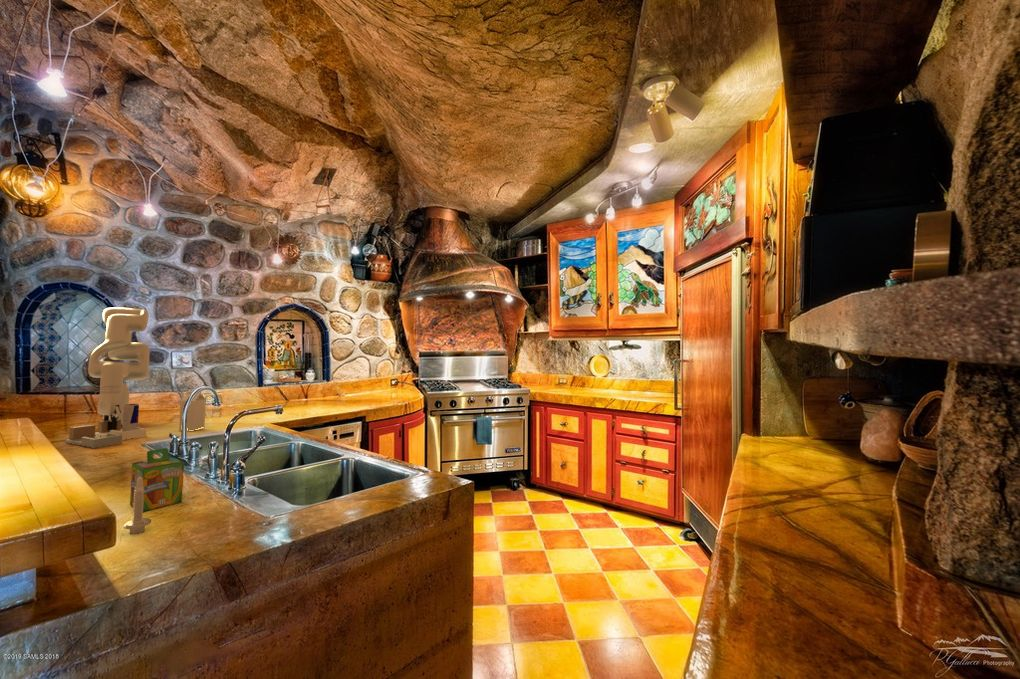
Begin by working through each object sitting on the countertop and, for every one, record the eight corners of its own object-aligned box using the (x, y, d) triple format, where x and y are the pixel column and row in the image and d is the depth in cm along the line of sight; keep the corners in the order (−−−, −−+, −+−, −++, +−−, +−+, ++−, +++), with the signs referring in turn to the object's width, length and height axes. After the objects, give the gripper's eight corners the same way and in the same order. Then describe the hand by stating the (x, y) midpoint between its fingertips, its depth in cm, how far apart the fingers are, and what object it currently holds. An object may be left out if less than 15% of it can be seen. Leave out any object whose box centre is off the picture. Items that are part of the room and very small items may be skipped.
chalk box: (140, 513, 107) (143, 456, 107) (128, 505, 111) (131, 450, 112) (183, 502, 114) (186, 449, 115) (170, 495, 119) (172, 444, 119)
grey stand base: (65, 442, 171) (66, 427, 171) (94, 438, 179) (94, 424, 179) (93, 448, 164) (94, 432, 164) (121, 443, 172) (122, 428, 173)
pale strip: (94, 435, 184) (94, 421, 184) (119, 431, 193) (120, 418, 193) (121, 440, 177) (121, 426, 177) (146, 436, 186) (146, 422, 186)
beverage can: (139, 437, 184) (141, 403, 184) (125, 439, 180) (127, 405, 180) (133, 435, 186) (135, 402, 187) (119, 437, 182) (121, 404, 182)
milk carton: (193, 431, 198) (195, 392, 198) (178, 431, 198) (180, 392, 198) (204, 428, 205) (206, 391, 205) (190, 428, 205) (192, 390, 205)
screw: (135, 527, 99) (156, 527, 99) (117, 536, 94) (138, 536, 94) (138, 473, 99) (158, 473, 99) (119, 479, 94) (141, 480, 94)
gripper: (90, 389, 188) (88, 429, 187) (112, 391, 182) (110, 433, 182) (110, 387, 195) (109, 426, 194) (132, 390, 189) (130, 430, 189)
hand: (109, 429), depth 188 cm, fingers closed on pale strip, 3 cm apart
